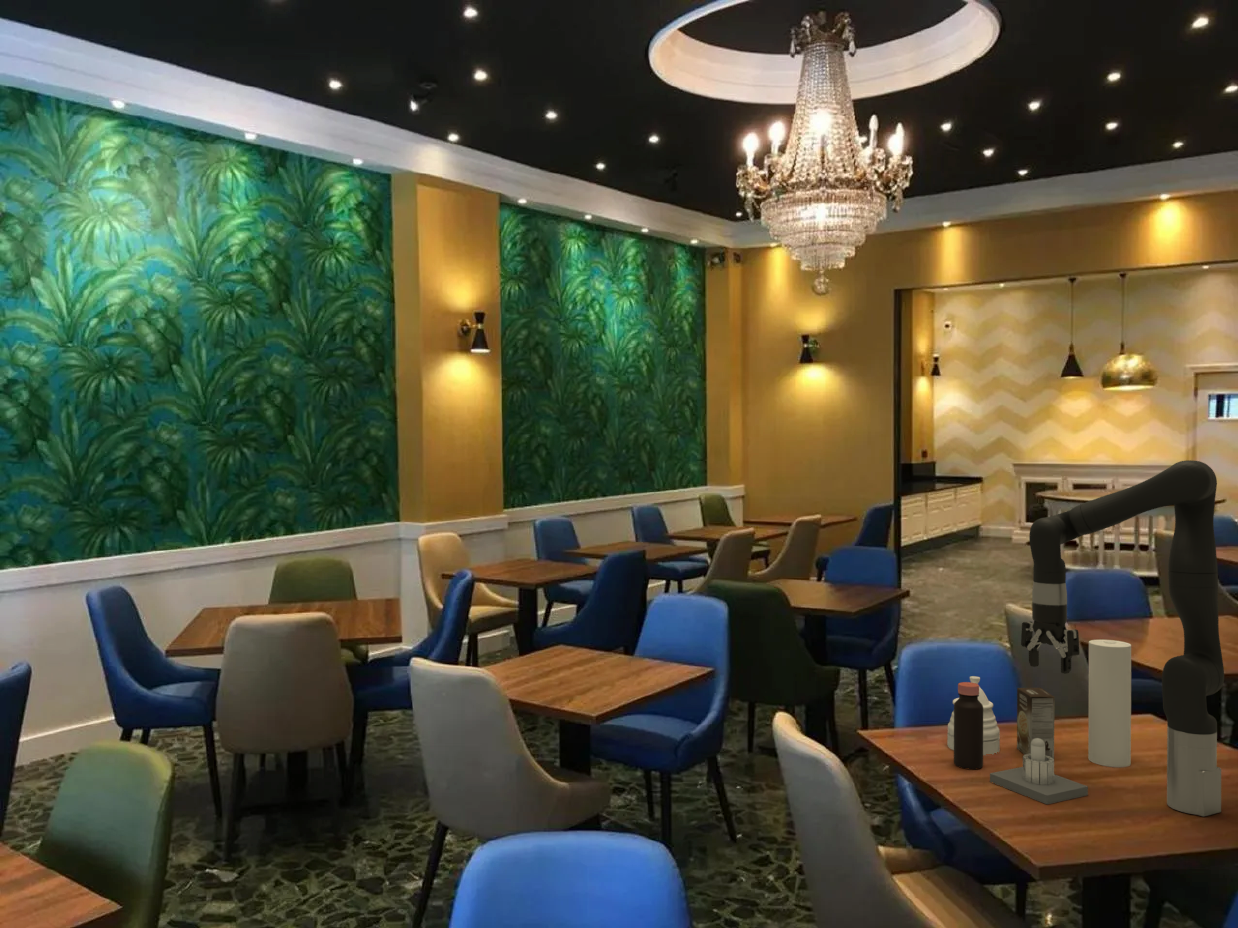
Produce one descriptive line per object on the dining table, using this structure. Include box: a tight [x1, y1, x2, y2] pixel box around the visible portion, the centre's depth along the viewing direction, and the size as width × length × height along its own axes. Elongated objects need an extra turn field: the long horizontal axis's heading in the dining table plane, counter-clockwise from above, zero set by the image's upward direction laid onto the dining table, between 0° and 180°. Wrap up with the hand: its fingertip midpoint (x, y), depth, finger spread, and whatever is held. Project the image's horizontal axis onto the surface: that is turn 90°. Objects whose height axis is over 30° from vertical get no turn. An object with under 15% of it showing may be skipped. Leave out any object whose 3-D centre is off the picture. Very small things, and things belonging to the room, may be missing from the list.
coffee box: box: [1016, 687, 1056, 760], centre depth 243 cm, size 9×6×16 cm
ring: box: [1022, 754, 1055, 785], centre depth 218 cm, size 6×6×5 cm
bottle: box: [953, 681, 984, 770], centre depth 235 cm, size 7×7×20 cm
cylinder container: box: [1087, 639, 1132, 768], centre depth 238 cm, size 9×9×30 cm
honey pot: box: [946, 675, 1001, 756], centre depth 249 cm, size 13×13×18 cm
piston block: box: [989, 738, 1089, 805], centre depth 219 cm, size 16×13×12 cm
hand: (1049, 669), depth 226 cm, fingers open, 8 cm apart
